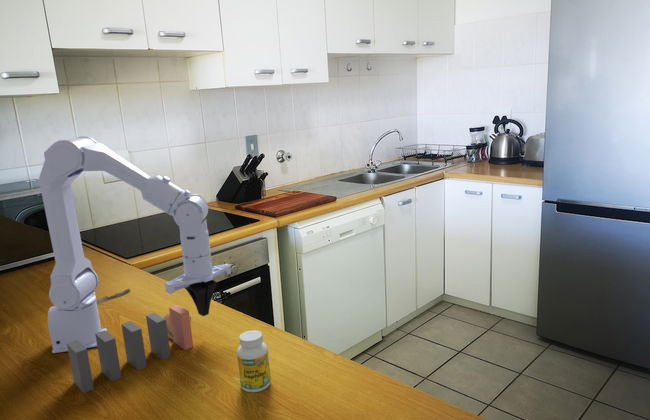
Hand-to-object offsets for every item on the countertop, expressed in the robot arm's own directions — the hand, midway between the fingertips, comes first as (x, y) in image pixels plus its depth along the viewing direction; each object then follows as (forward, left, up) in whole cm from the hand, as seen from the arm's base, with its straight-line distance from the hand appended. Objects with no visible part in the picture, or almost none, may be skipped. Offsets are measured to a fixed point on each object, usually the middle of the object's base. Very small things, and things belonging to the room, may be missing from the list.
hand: (203, 313), depth 106 cm
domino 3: (-13, -8, -5) cm, 16 cm away
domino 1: (-22, -13, -5) cm, 26 cm away
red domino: (-5, -3, -5) cm, 7 cm away
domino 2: (-18, -10, -5) cm, 21 cm away
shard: (-6, +6, -6) cm, 10 cm away
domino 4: (-9, -5, -5) cm, 12 cm away
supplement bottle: (+8, -23, -5) cm, 25 cm away
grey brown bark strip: (-24, +30, -6) cm, 39 cm away
